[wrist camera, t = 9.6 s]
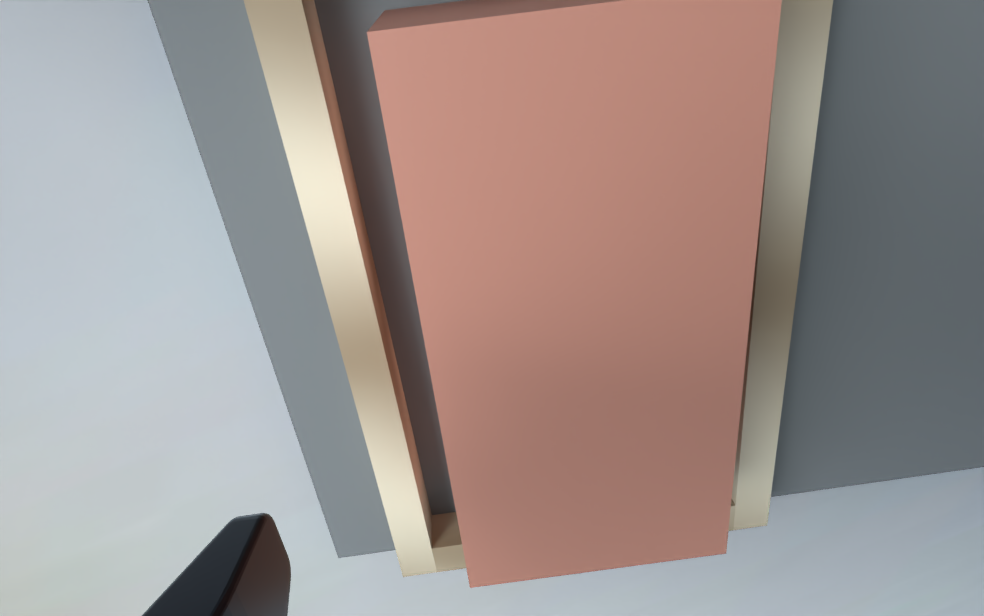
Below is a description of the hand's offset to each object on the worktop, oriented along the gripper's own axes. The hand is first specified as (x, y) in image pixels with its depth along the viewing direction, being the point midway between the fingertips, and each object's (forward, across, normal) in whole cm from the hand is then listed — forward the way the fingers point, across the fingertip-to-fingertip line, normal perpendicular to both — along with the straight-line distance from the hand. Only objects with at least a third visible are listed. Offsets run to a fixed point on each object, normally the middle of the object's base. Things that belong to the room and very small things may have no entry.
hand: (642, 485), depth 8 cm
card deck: (+6, 0, 0) cm, 6 cm away
